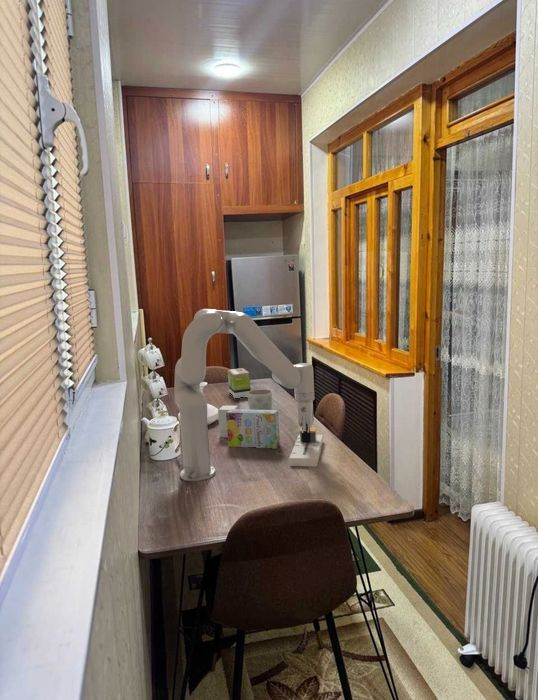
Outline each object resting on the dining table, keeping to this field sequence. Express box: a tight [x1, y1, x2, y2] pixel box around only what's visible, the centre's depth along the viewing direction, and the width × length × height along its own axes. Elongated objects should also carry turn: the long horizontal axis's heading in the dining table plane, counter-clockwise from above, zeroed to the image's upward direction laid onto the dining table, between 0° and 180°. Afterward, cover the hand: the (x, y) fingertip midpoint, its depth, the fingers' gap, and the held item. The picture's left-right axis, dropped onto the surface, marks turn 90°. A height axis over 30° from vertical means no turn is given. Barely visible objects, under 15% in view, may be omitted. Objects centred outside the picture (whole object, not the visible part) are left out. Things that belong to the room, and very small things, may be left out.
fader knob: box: [299, 427, 317, 442], centre depth 197 cm, size 4×6×5 cm, turn 79°
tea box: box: [227, 367, 252, 399], centre depth 288 cm, size 15×10×15 cm, turn 17°
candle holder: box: [177, 381, 219, 426], centre depth 239 cm, size 20×20×19 cm
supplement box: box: [218, 405, 239, 438], centre depth 219 cm, size 7×7×13 cm
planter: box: [247, 388, 273, 410], centre depth 251 cm, size 12×12×11 cm
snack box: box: [226, 408, 281, 450], centre depth 203 cm, size 21×6×15 cm, turn 74°
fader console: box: [289, 433, 324, 467], centre depth 193 cm, size 26×10×3 cm, turn 169°
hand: (306, 441), depth 192 cm, fingers closed
